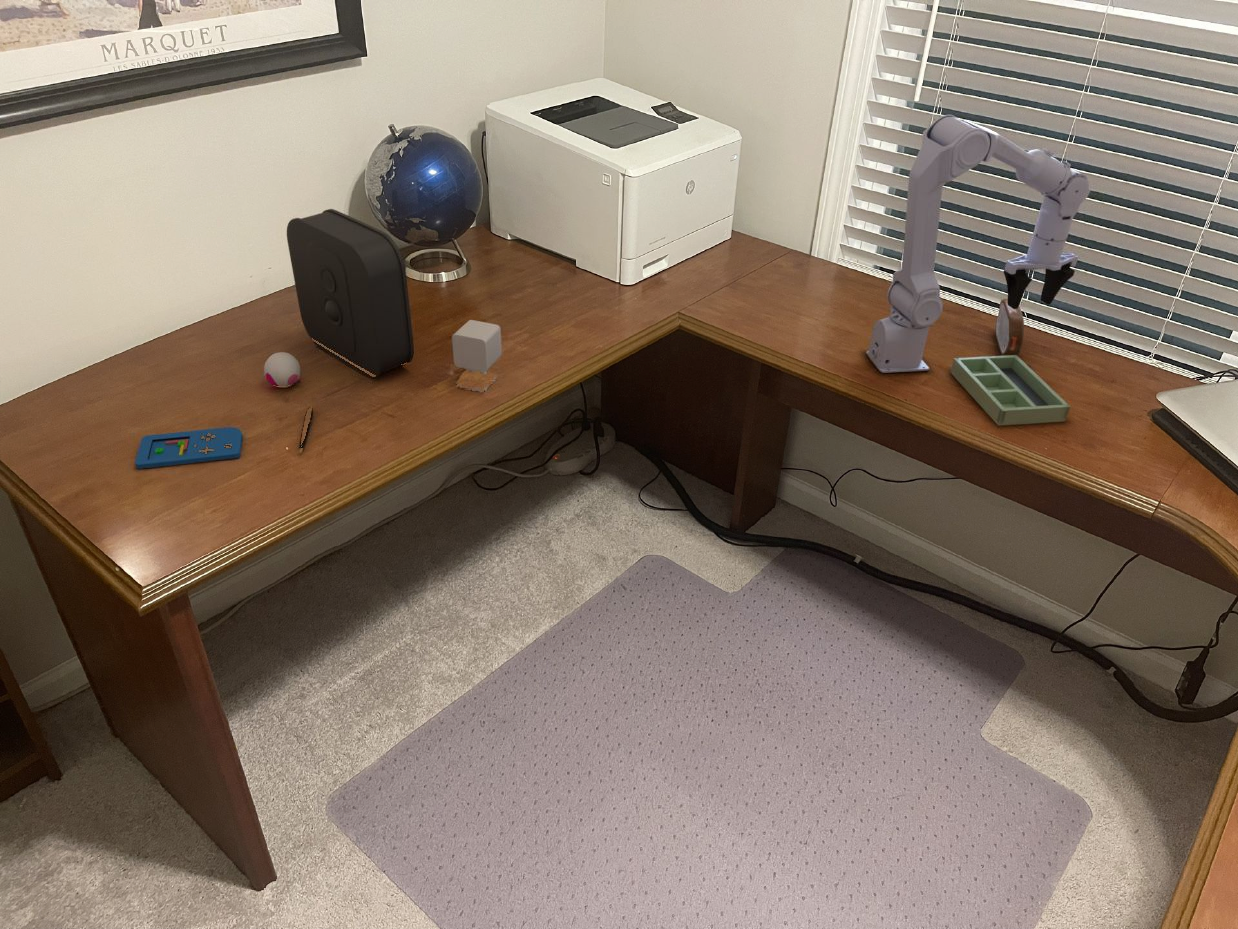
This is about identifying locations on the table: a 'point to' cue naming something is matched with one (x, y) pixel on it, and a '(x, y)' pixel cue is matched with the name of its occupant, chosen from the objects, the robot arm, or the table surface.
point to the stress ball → (282, 369)
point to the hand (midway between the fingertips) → (1029, 304)
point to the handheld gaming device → (188, 447)
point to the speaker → (352, 290)
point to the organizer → (1009, 390)
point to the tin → (1009, 329)
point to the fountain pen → (306, 433)
